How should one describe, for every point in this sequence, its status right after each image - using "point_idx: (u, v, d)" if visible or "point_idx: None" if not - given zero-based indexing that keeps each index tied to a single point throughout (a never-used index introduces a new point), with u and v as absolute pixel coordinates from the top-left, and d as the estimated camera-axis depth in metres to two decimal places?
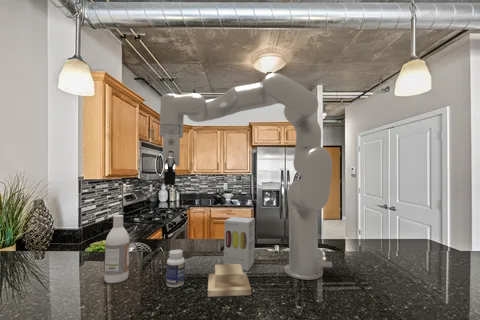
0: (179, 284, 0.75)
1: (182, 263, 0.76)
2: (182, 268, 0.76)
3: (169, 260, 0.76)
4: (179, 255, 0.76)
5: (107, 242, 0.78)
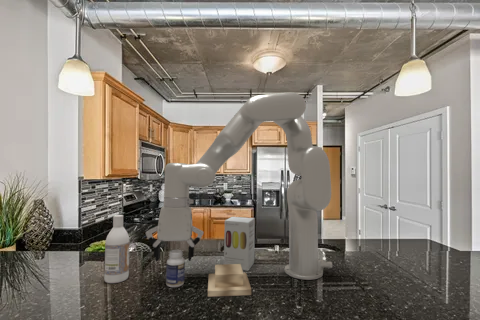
0: (179, 284, 0.75)
1: (182, 263, 0.76)
2: (182, 268, 0.76)
3: (169, 260, 0.76)
4: (179, 255, 0.76)
5: (107, 242, 0.78)
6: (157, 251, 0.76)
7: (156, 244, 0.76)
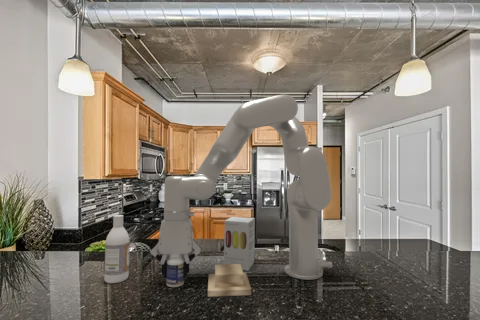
0: (179, 284, 0.75)
1: (182, 263, 0.76)
2: (182, 268, 0.76)
3: (169, 260, 0.76)
4: (179, 255, 0.76)
5: (107, 242, 0.78)
6: (164, 268, 0.76)
7: (163, 261, 0.76)
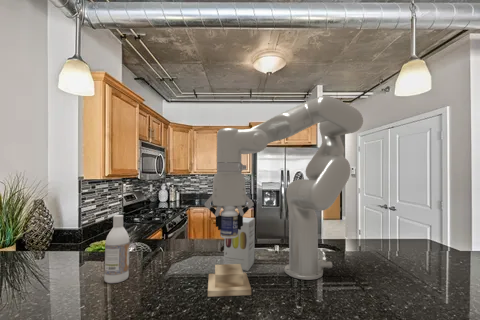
0: (234, 235, 0.75)
1: (236, 215, 0.76)
2: (236, 220, 0.76)
3: (223, 212, 0.75)
4: (233, 207, 0.76)
5: (107, 242, 0.78)
6: (219, 220, 0.75)
7: (218, 213, 0.75)
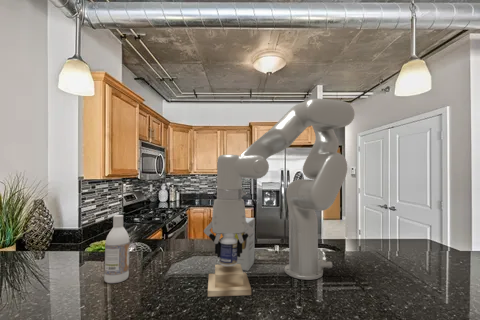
0: (234, 263, 0.74)
1: (236, 242, 0.75)
2: (236, 247, 0.75)
3: (223, 239, 0.75)
4: (233, 234, 0.75)
5: (107, 242, 0.78)
6: (219, 248, 0.75)
7: (217, 240, 0.75)
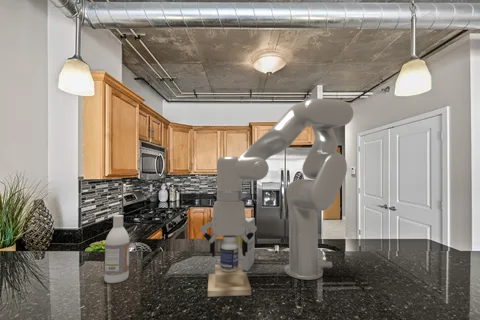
0: (235, 269, 0.74)
1: (237, 248, 0.75)
2: (237, 253, 0.75)
3: (224, 245, 0.75)
4: (234, 240, 0.75)
5: (107, 242, 0.78)
6: (213, 247, 0.74)
7: (212, 240, 0.75)
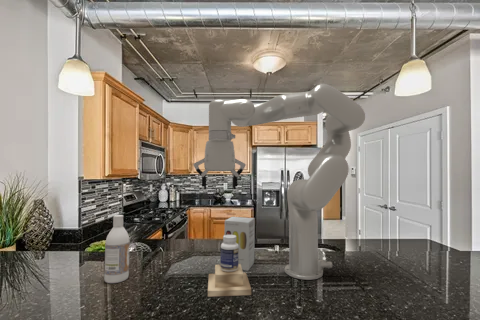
0: (235, 269, 0.74)
1: (237, 248, 0.75)
2: (237, 253, 0.75)
3: (224, 244, 0.75)
4: (234, 240, 0.75)
5: (107, 242, 0.78)
6: (205, 180, 0.82)
7: (204, 174, 0.82)
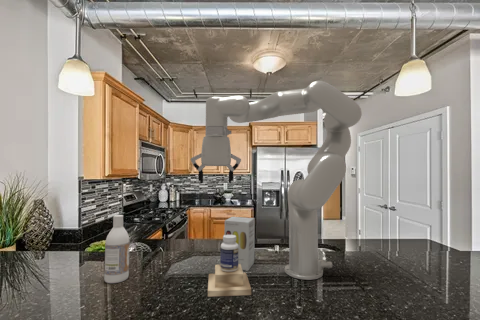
0: (235, 269, 0.74)
1: (237, 248, 0.75)
2: (237, 253, 0.75)
3: (224, 245, 0.75)
4: (234, 239, 0.75)
5: (107, 242, 0.78)
6: (201, 174, 0.85)
7: (200, 168, 0.85)
